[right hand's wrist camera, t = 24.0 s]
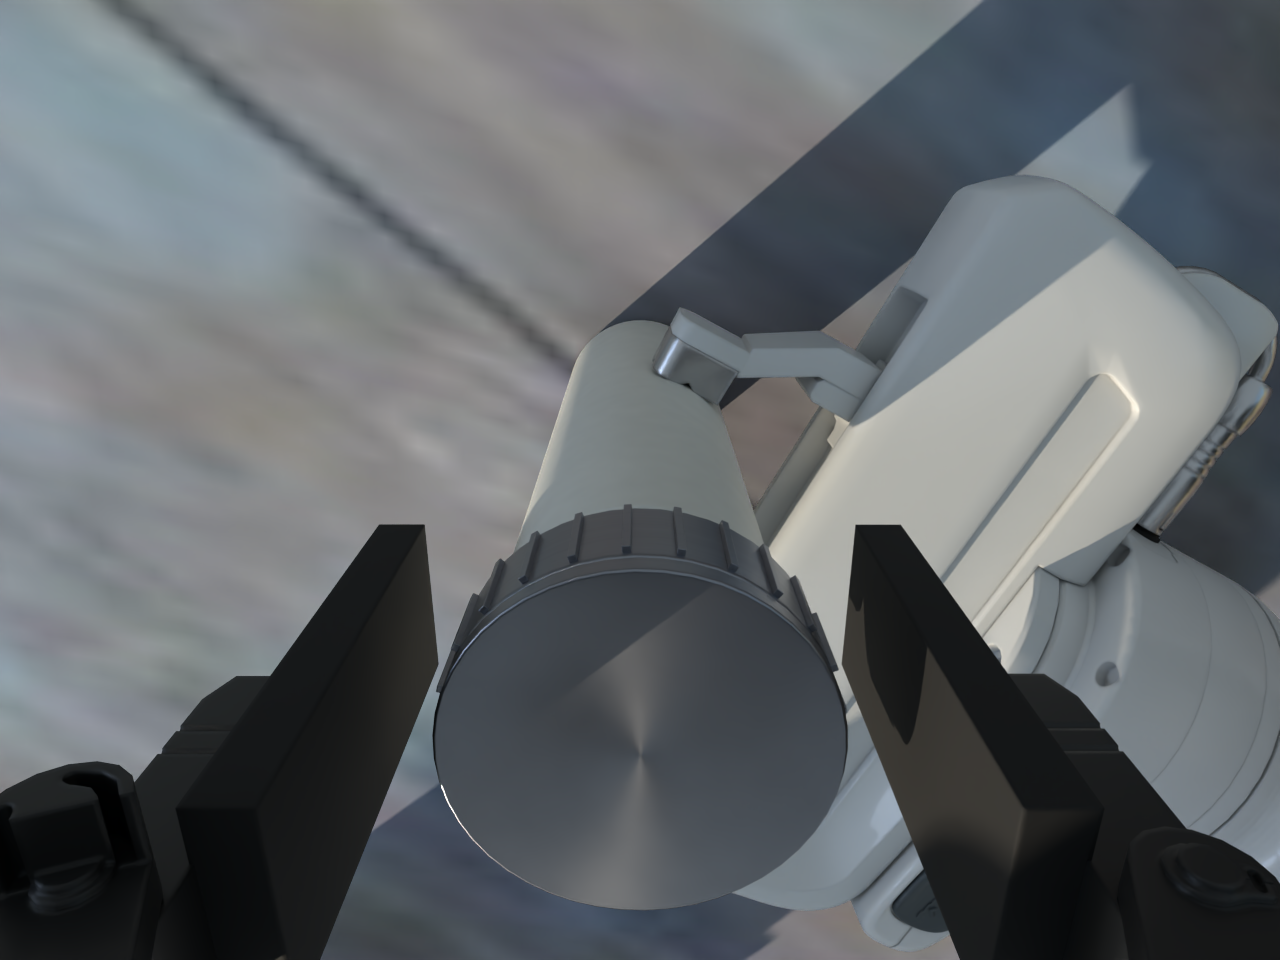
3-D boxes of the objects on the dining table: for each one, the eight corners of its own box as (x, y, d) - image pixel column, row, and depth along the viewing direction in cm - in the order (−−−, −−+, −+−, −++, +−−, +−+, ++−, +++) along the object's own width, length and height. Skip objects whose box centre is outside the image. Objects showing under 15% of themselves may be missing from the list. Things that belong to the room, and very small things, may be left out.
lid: (900, 634, 12) (946, 716, 10) (676, 866, 14) (682, 972, 12) (595, 425, 11) (587, 476, 9) (389, 704, 12) (348, 794, 11)
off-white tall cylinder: (736, 405, 28) (868, 738, 12) (624, 480, 28) (604, 882, 13) (657, 291, 26) (684, 489, 10) (542, 373, 27) (403, 671, 11)
